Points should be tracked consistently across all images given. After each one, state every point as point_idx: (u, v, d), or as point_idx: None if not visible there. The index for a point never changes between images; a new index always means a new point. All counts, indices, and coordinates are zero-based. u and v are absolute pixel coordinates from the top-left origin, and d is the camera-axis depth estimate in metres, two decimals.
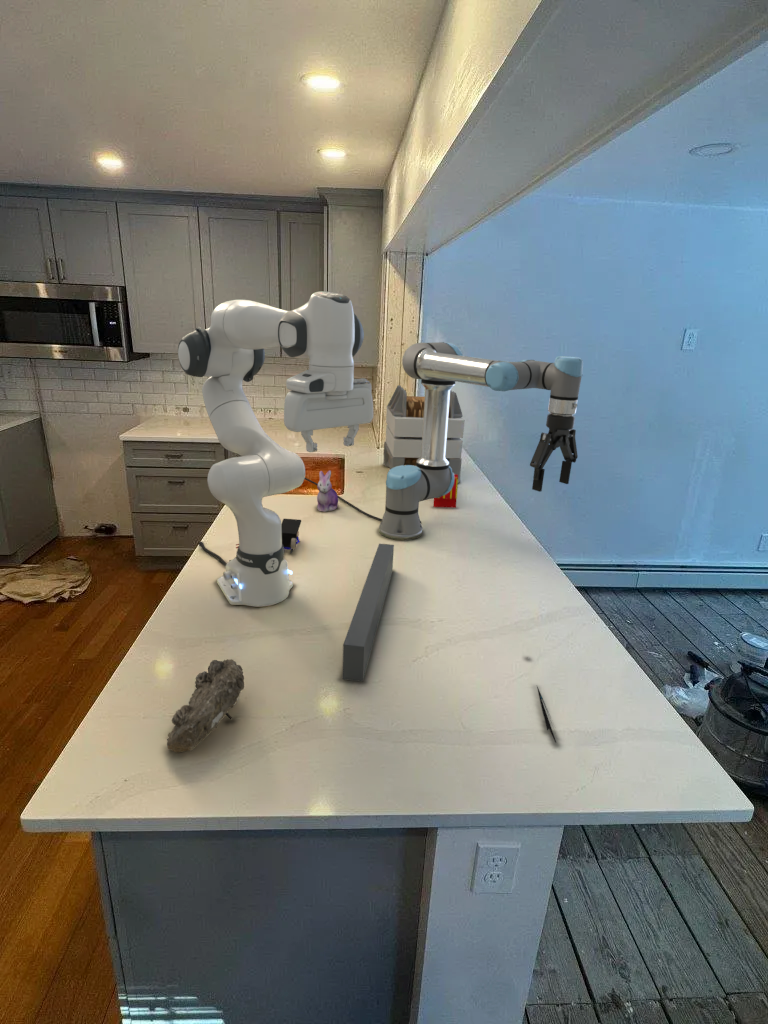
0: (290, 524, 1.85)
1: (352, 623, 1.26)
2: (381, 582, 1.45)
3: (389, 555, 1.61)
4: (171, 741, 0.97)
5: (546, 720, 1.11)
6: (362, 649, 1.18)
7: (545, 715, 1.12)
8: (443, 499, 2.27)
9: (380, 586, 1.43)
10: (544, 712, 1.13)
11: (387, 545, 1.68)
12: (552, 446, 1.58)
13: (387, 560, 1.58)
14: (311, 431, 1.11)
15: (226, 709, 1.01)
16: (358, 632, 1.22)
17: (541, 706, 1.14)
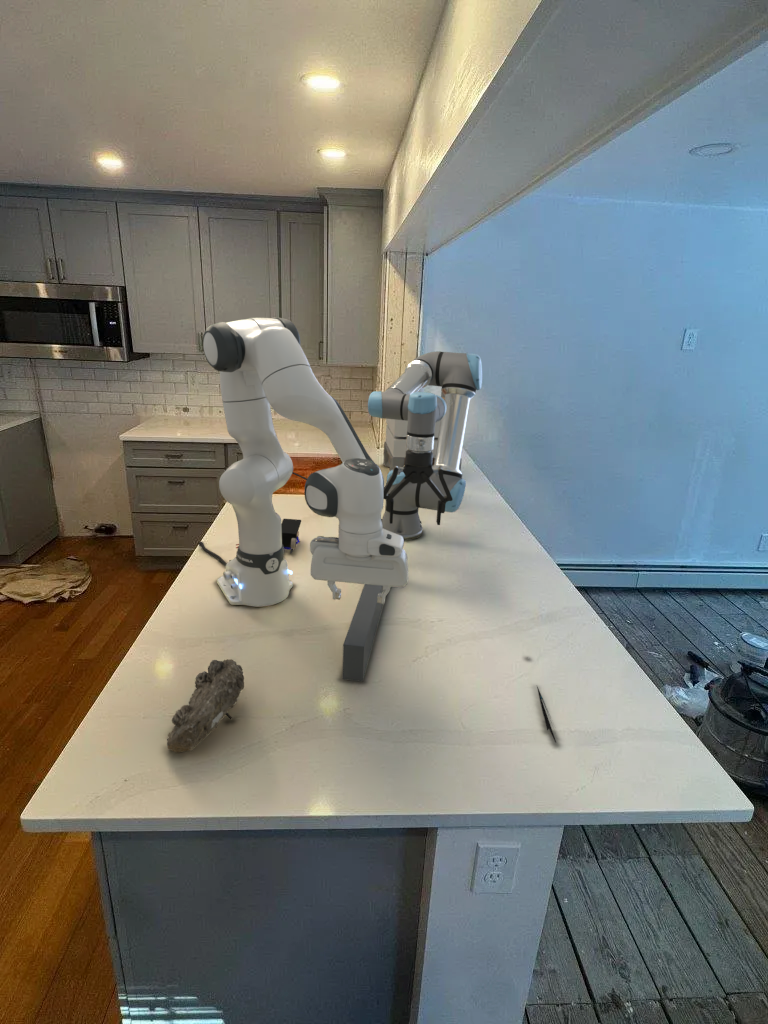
0: (290, 524, 1.85)
1: (352, 623, 1.26)
2: None
3: None
4: (171, 741, 0.97)
5: (546, 720, 1.11)
6: (362, 649, 1.18)
7: (545, 715, 1.12)
8: None
9: (380, 586, 1.43)
10: (544, 712, 1.13)
11: None
12: (403, 480, 1.57)
13: None
14: None
15: (226, 709, 1.01)
16: (358, 632, 1.22)
17: (541, 706, 1.14)
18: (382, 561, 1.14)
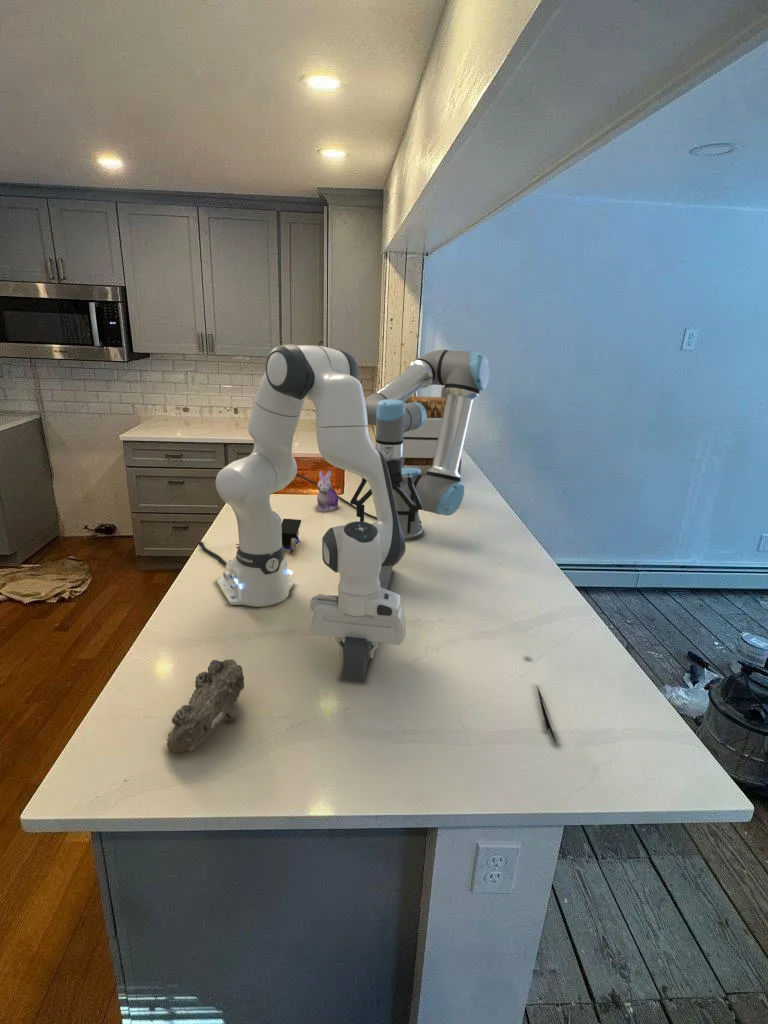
0: (290, 524, 1.85)
1: None
2: (381, 582, 1.45)
3: None
4: (171, 741, 0.97)
5: (546, 720, 1.11)
6: (362, 649, 1.18)
7: (545, 715, 1.12)
8: None
9: (380, 586, 1.43)
10: (544, 712, 1.13)
11: None
12: None
13: None
14: None
15: (226, 709, 1.01)
16: None
17: (541, 706, 1.14)
18: (380, 620, 1.18)
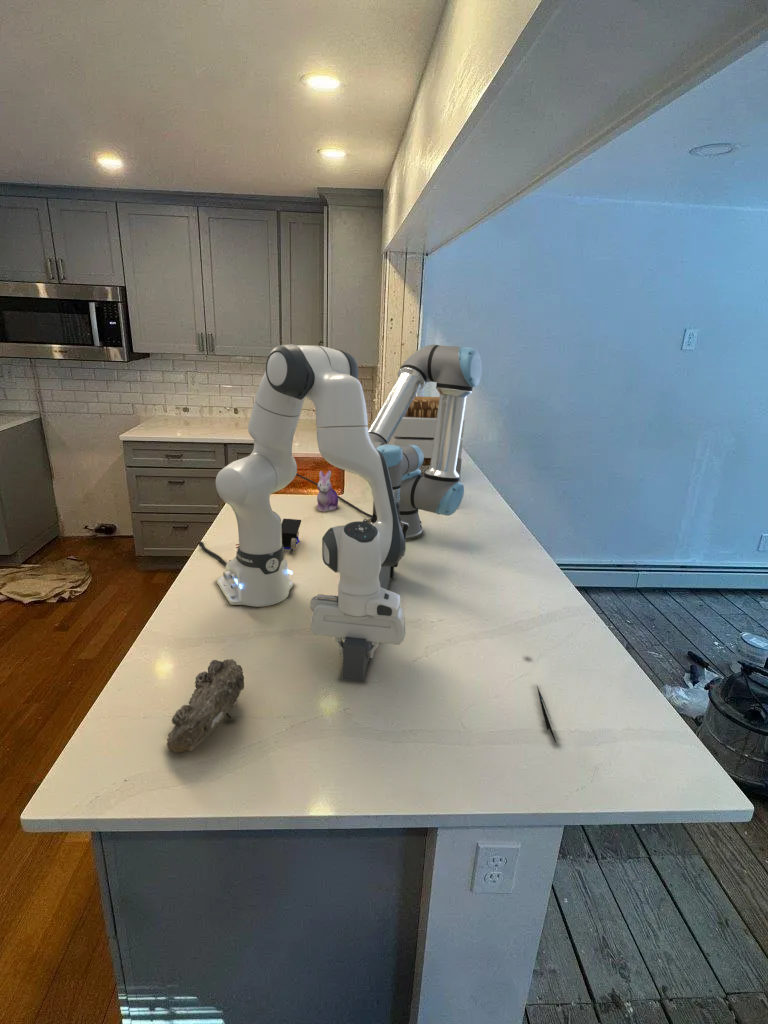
0: (290, 524, 1.85)
1: None
2: (381, 582, 1.45)
3: None
4: (171, 741, 0.97)
5: (546, 720, 1.11)
6: (362, 649, 1.18)
7: (545, 715, 1.12)
8: None
9: (380, 586, 1.43)
10: (544, 712, 1.13)
11: None
12: None
13: None
14: None
15: (226, 709, 1.01)
16: None
17: (541, 706, 1.14)
18: (379, 620, 1.18)
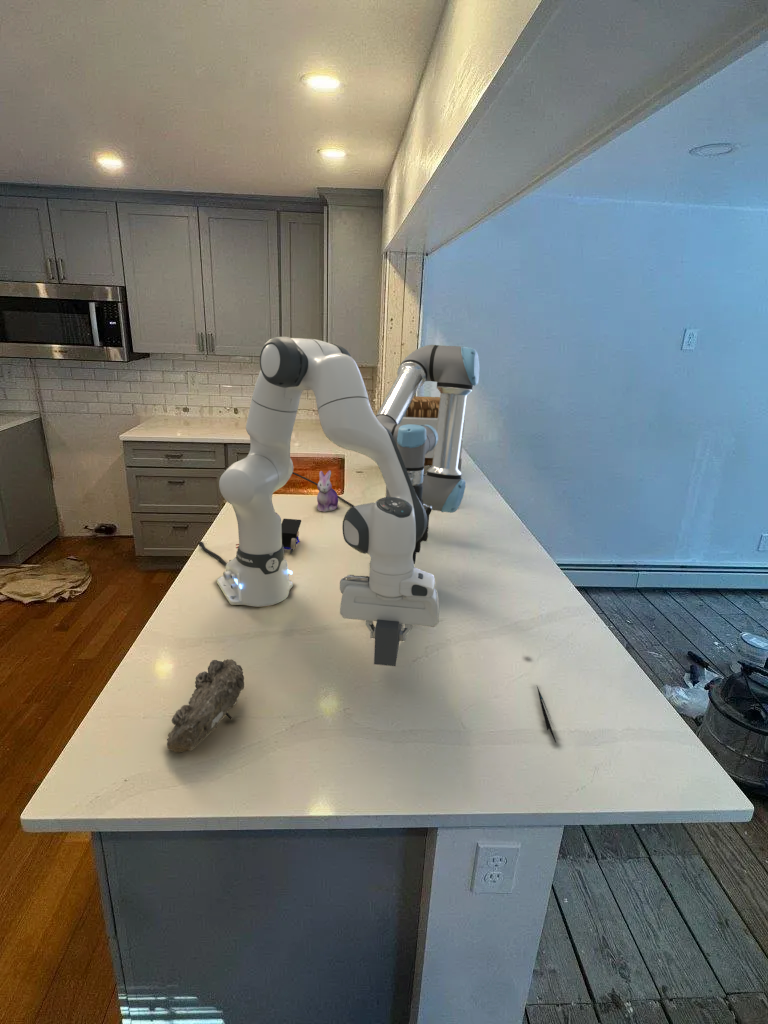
0: (290, 524, 1.85)
1: None
2: None
3: None
4: (171, 741, 0.97)
5: (546, 720, 1.11)
6: (395, 632, 1.12)
7: (545, 715, 1.12)
8: None
9: None
10: (544, 712, 1.13)
11: None
12: None
13: None
14: None
15: (226, 709, 1.01)
16: None
17: (541, 706, 1.14)
18: (413, 601, 1.12)
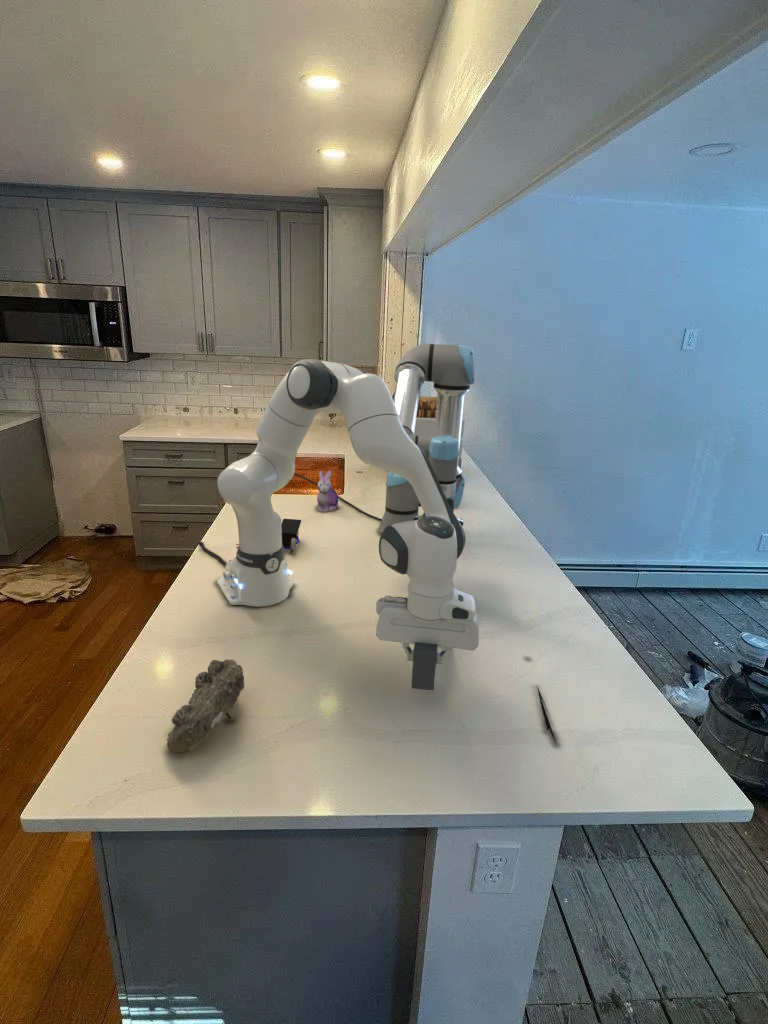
0: (290, 524, 1.85)
1: None
2: None
3: None
4: (171, 741, 0.97)
5: (546, 720, 1.11)
6: (434, 656, 1.08)
7: (545, 715, 1.12)
8: None
9: None
10: (544, 712, 1.13)
11: None
12: None
13: None
14: None
15: (226, 709, 1.01)
16: None
17: (541, 706, 1.14)
18: (453, 624, 1.08)
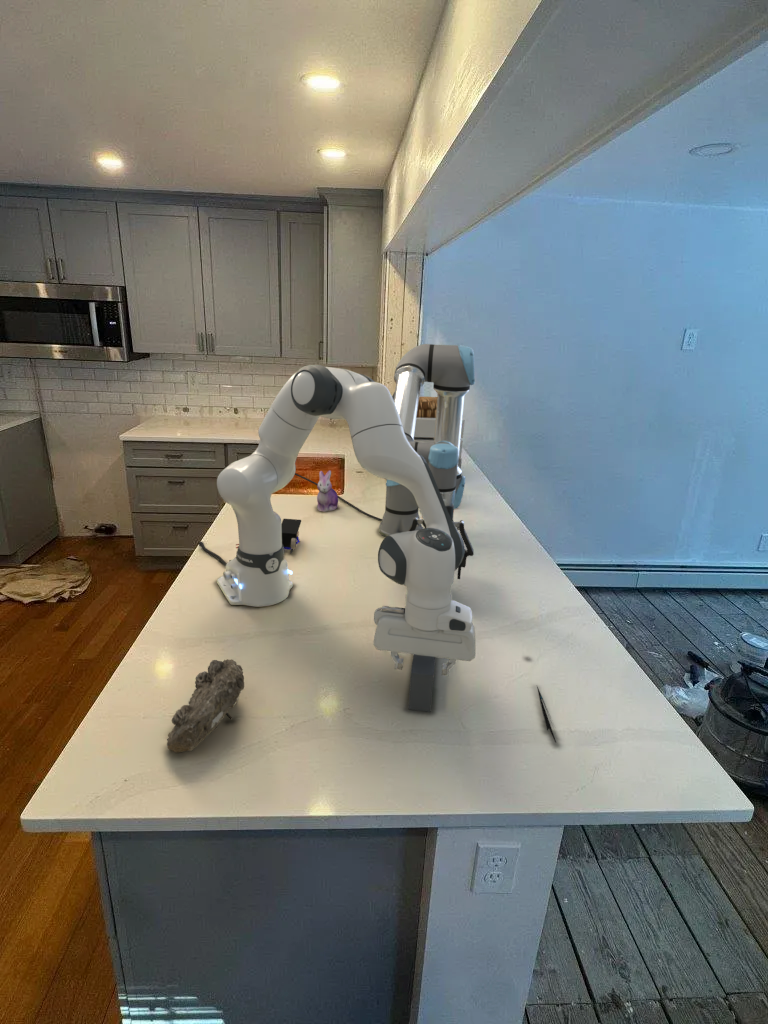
0: (290, 524, 1.85)
1: None
2: None
3: None
4: (171, 741, 0.97)
5: (546, 720, 1.11)
6: (431, 678, 1.09)
7: (545, 715, 1.12)
8: None
9: None
10: (544, 712, 1.13)
11: None
12: None
13: None
14: None
15: (226, 709, 1.01)
16: (424, 659, 1.14)
17: (541, 706, 1.14)
18: (450, 635, 1.09)
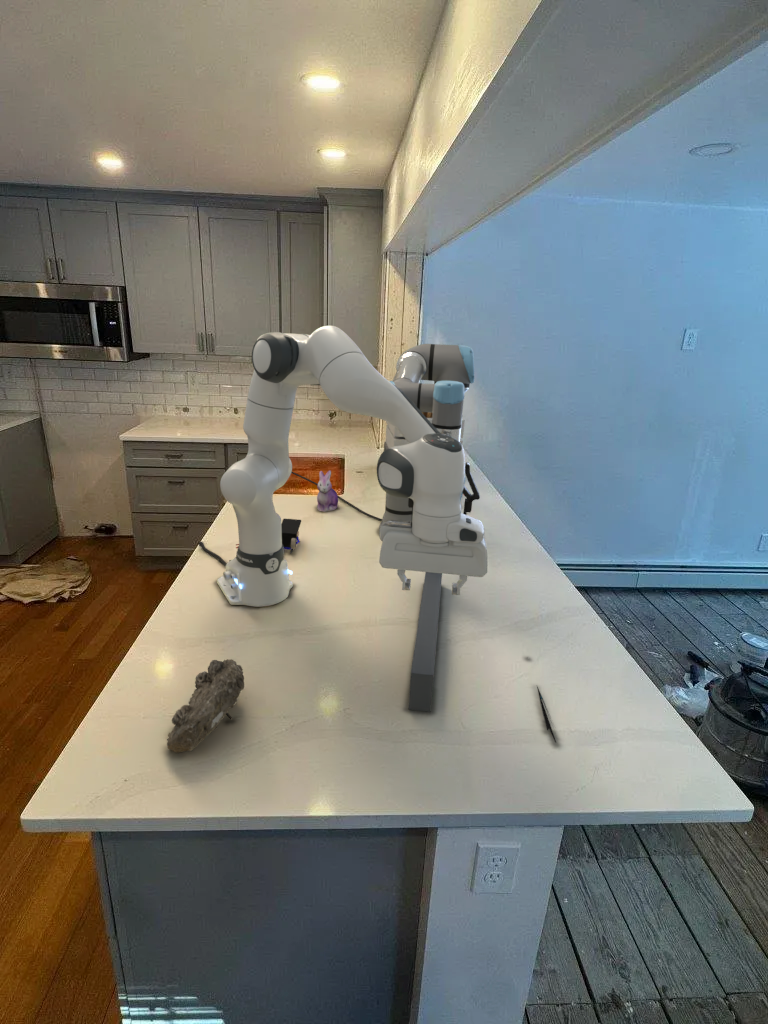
0: (290, 524, 1.85)
1: (416, 648, 1.18)
2: (438, 601, 1.37)
3: None
4: (171, 741, 0.97)
5: (546, 720, 1.11)
6: (431, 678, 1.09)
7: (545, 715, 1.12)
8: None
9: (438, 605, 1.35)
10: (544, 712, 1.13)
11: None
12: None
13: (440, 576, 1.50)
14: None
15: (226, 709, 1.01)
16: (424, 659, 1.14)
17: (541, 706, 1.14)
18: (461, 548, 1.03)
